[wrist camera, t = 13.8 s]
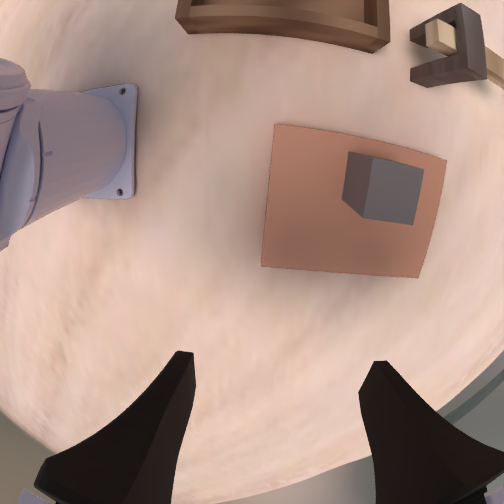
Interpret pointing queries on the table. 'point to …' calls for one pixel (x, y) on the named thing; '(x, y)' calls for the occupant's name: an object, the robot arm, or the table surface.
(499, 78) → the tan rectangular bar
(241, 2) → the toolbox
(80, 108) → the robot arm
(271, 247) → the lid
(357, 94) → the table surface
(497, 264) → the table surface
